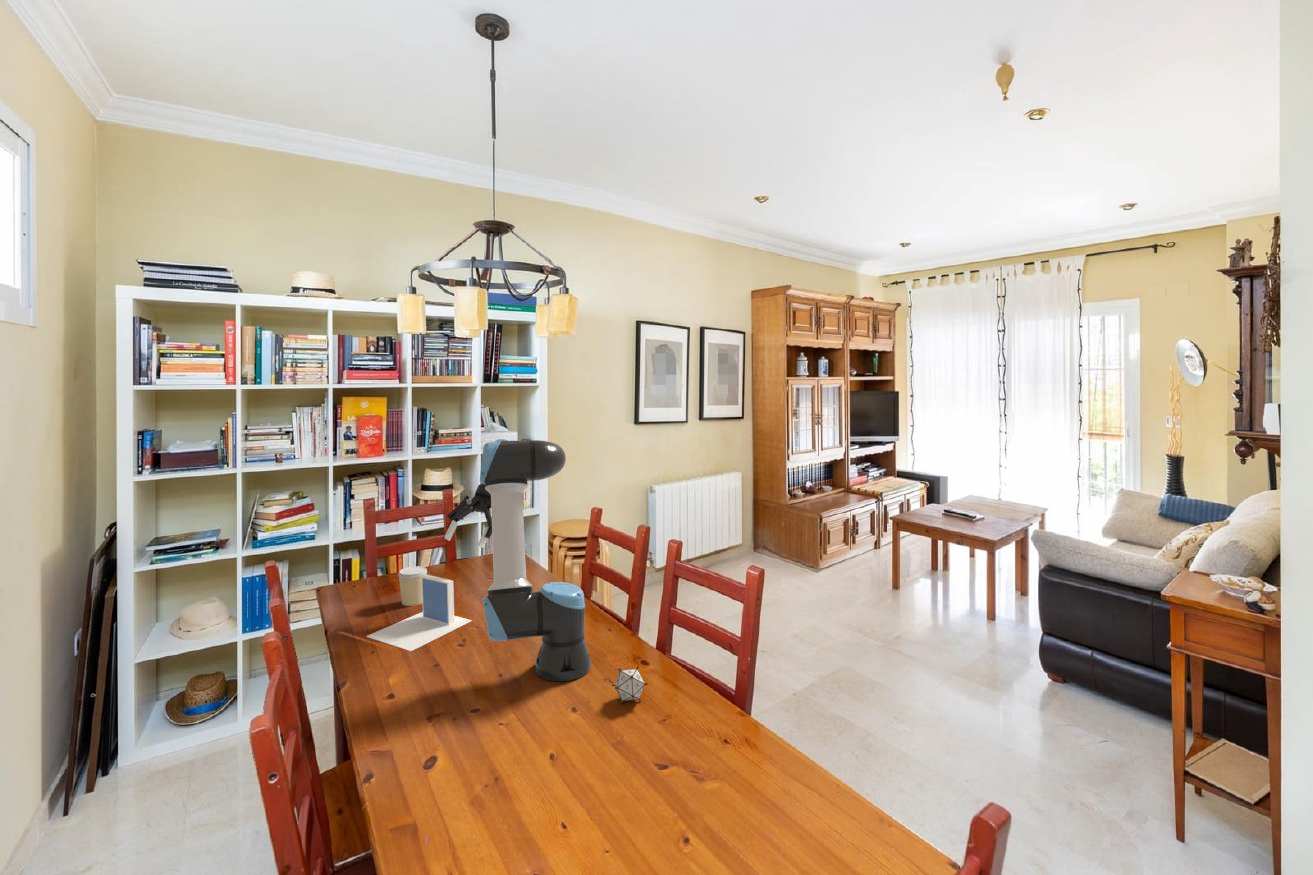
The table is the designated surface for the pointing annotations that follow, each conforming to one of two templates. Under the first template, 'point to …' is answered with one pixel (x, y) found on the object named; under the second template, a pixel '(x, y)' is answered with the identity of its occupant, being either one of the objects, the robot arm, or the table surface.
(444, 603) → the tile
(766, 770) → the table surface
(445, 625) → the mat
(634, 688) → the game die
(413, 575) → the coffee cup
